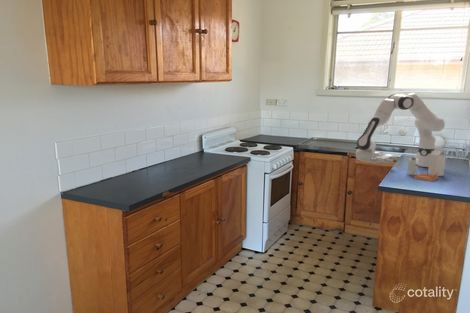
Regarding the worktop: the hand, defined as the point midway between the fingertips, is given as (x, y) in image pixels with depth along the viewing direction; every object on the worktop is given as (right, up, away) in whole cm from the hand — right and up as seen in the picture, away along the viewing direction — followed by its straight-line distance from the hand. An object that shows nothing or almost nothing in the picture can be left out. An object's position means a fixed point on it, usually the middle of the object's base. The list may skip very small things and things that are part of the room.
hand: (395, 160), depth 281 cm
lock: (+9, -10, -6) cm, 15 cm away
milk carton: (+26, -11, -7) cm, 29 cm away
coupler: (+13, -12, -18) cm, 25 cm away
